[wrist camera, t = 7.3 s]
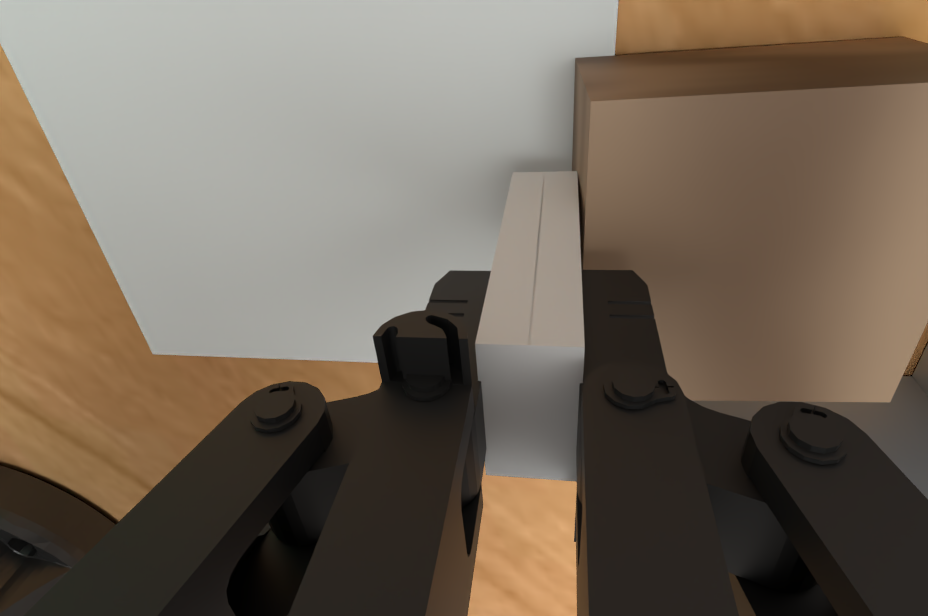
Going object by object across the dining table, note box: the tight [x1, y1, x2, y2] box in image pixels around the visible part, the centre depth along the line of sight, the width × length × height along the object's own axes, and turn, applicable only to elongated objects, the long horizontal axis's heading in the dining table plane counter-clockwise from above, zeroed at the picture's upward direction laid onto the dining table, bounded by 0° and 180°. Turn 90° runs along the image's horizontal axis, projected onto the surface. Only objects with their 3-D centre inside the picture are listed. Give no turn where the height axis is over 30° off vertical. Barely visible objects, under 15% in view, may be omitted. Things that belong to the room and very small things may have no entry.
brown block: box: [572, 37, 928, 402], centre depth 13 cm, size 7×7×4 cm
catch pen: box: [694, 344, 928, 499], centre depth 12 cm, size 10×13×5 cm
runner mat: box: [0, 0, 618, 363], centre depth 16 cm, size 16×12×1 cm
